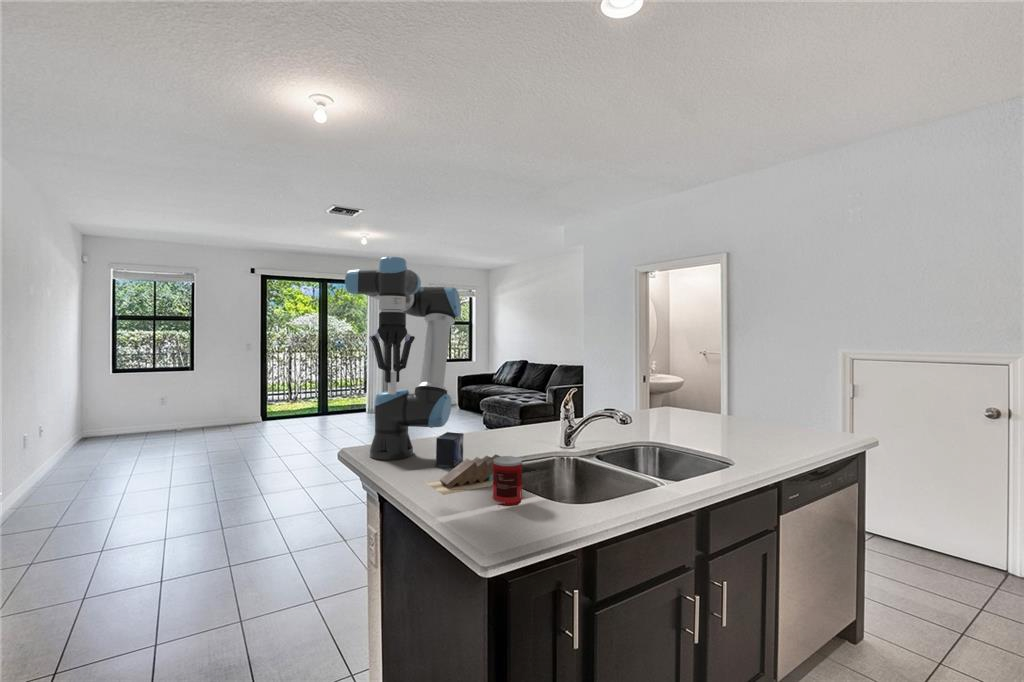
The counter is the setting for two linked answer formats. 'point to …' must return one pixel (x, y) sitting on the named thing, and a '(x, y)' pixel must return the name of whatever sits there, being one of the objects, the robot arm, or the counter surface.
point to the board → (456, 488)
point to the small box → (449, 450)
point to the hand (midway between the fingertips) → (392, 393)
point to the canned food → (507, 480)
